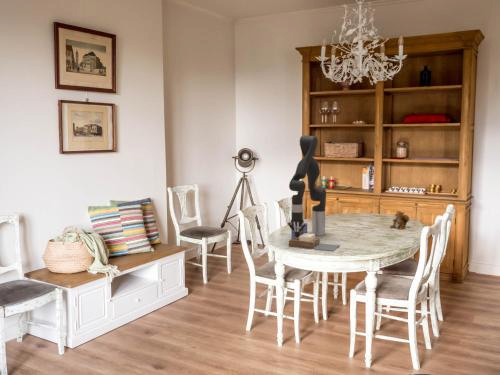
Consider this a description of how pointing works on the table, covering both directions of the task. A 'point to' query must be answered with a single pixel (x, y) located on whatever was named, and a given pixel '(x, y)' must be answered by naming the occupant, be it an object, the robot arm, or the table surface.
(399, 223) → the stuffed squirrel
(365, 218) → the table surface
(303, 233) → the ink cartridge box
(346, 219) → the table surface
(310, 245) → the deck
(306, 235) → the cream rectangular block
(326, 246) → the mat
